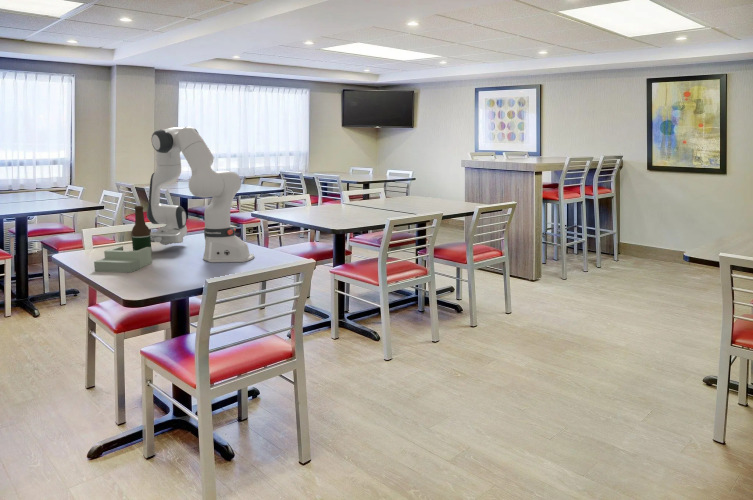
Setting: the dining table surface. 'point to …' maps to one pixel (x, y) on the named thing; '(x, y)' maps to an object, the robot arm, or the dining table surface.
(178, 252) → the dining table surface
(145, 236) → the beer bottle
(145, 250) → the block
